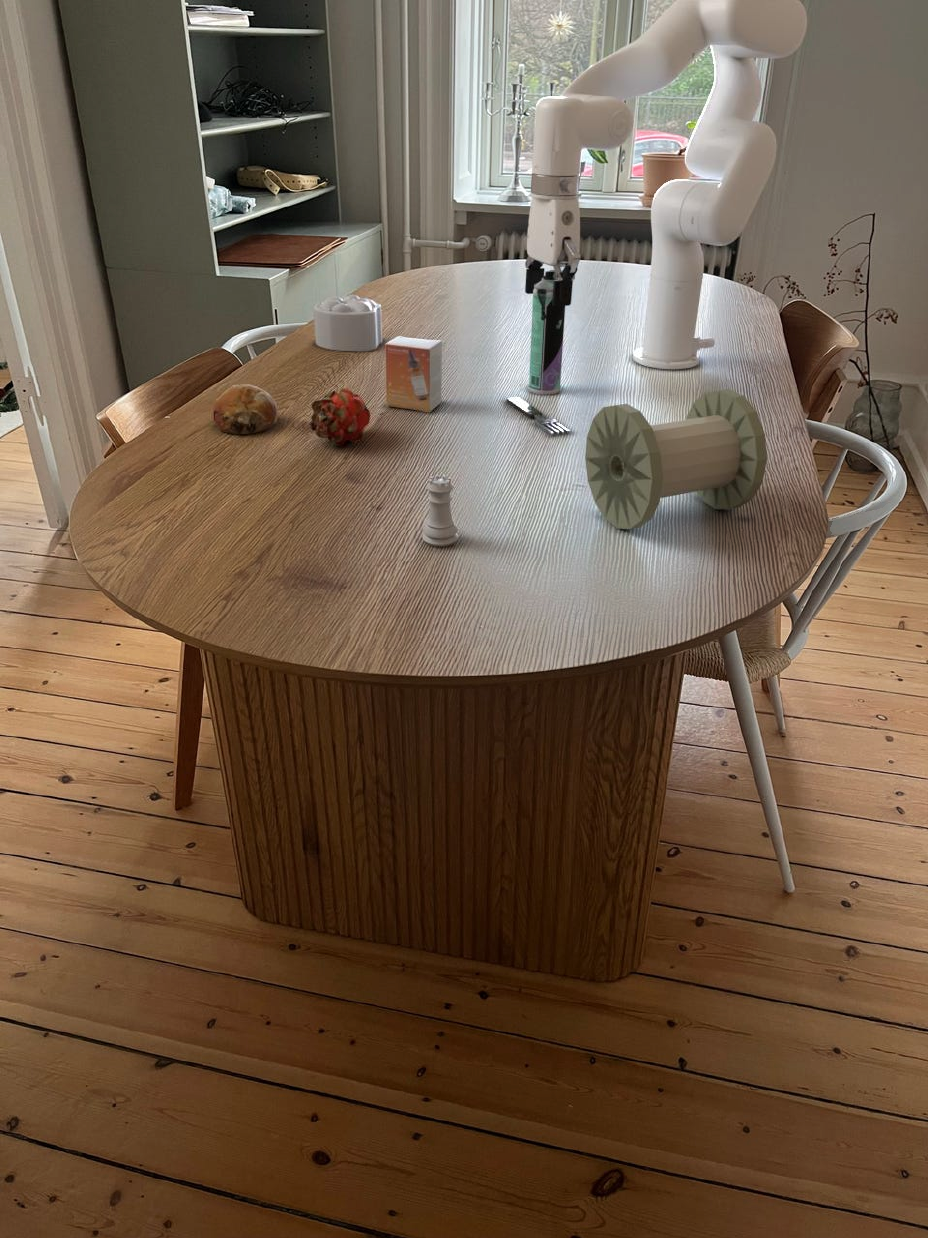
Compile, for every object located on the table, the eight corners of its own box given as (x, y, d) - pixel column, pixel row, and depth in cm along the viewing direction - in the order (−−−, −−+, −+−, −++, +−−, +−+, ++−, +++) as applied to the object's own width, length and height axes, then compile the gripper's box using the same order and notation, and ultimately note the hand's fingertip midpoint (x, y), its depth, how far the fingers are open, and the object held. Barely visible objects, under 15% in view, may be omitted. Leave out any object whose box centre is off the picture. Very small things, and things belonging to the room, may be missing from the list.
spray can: (558, 395, 162) (565, 274, 151) (526, 393, 163) (532, 272, 152) (561, 386, 166) (569, 267, 156) (531, 383, 167) (536, 266, 157)
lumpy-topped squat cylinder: (372, 352, 183) (370, 306, 179) (308, 348, 185) (305, 303, 181) (385, 338, 192) (383, 294, 188) (324, 334, 194) (321, 291, 189)
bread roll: (286, 442, 151) (292, 392, 150) (254, 436, 142) (260, 382, 141) (232, 435, 154) (238, 385, 153) (197, 428, 144) (203, 375, 143)
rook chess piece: (421, 532, 116) (420, 472, 112) (457, 531, 117) (457, 471, 112) (422, 548, 112) (421, 487, 108) (460, 547, 113) (460, 486, 109)
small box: (385, 407, 156) (383, 343, 151) (399, 396, 161) (397, 334, 155) (430, 413, 154) (429, 348, 148) (442, 402, 158) (442, 339, 153)
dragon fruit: (325, 466, 138) (348, 448, 149) (370, 435, 135) (390, 419, 146) (290, 416, 136) (316, 402, 147) (335, 384, 133) (358, 372, 144)
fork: (503, 402, 159) (503, 398, 158) (520, 400, 160) (520, 396, 159) (551, 436, 145) (551, 431, 145) (569, 433, 146) (569, 428, 146)
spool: (643, 548, 113) (658, 429, 105) (581, 500, 125) (590, 390, 117) (754, 525, 119) (776, 411, 111) (685, 482, 130) (700, 375, 123)
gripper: (603, 192, 142) (593, 309, 151) (550, 179, 156) (543, 287, 164) (560, 194, 139) (552, 312, 148) (509, 180, 153) (504, 289, 162)
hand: (547, 299), depth 156 cm, fingers open, 9 cm apart
